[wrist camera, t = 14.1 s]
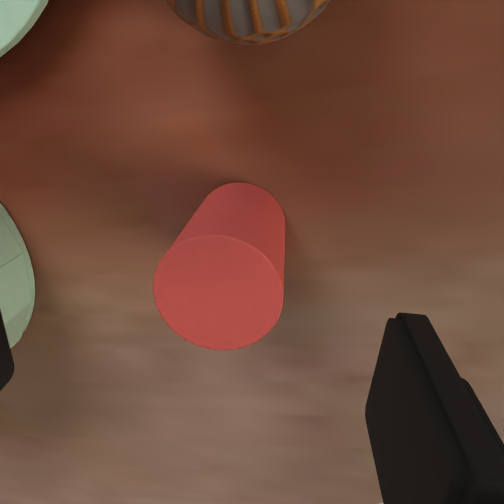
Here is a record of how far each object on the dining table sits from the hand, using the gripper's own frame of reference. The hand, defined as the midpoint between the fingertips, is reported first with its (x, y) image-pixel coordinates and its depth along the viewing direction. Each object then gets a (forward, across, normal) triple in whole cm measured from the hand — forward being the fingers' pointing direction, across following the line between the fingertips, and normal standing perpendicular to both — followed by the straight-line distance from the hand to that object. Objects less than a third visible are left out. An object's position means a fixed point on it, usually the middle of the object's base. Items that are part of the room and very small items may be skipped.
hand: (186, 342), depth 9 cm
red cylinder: (+11, 0, +1) cm, 11 cm away
